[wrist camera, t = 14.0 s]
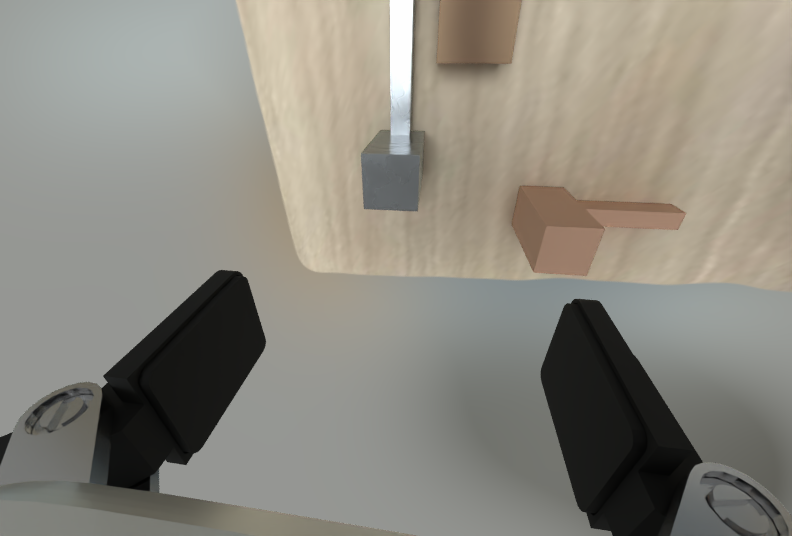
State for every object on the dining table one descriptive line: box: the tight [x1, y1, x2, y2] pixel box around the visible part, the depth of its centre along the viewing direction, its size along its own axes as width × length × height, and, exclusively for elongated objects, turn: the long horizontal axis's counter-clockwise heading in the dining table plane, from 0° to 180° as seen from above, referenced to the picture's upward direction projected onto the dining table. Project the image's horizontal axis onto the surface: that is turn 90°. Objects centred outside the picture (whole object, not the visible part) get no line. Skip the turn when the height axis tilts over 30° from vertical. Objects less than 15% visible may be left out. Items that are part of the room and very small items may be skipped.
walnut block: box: [436, 0, 522, 64], centre depth 23 cm, size 5×5×5 cm
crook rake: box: [361, 0, 425, 211], centre depth 23 cm, size 16×10×9 cm, turn 0°
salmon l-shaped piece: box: [512, 186, 686, 276], centre depth 27 cm, size 14×4×9 cm, turn 90°
